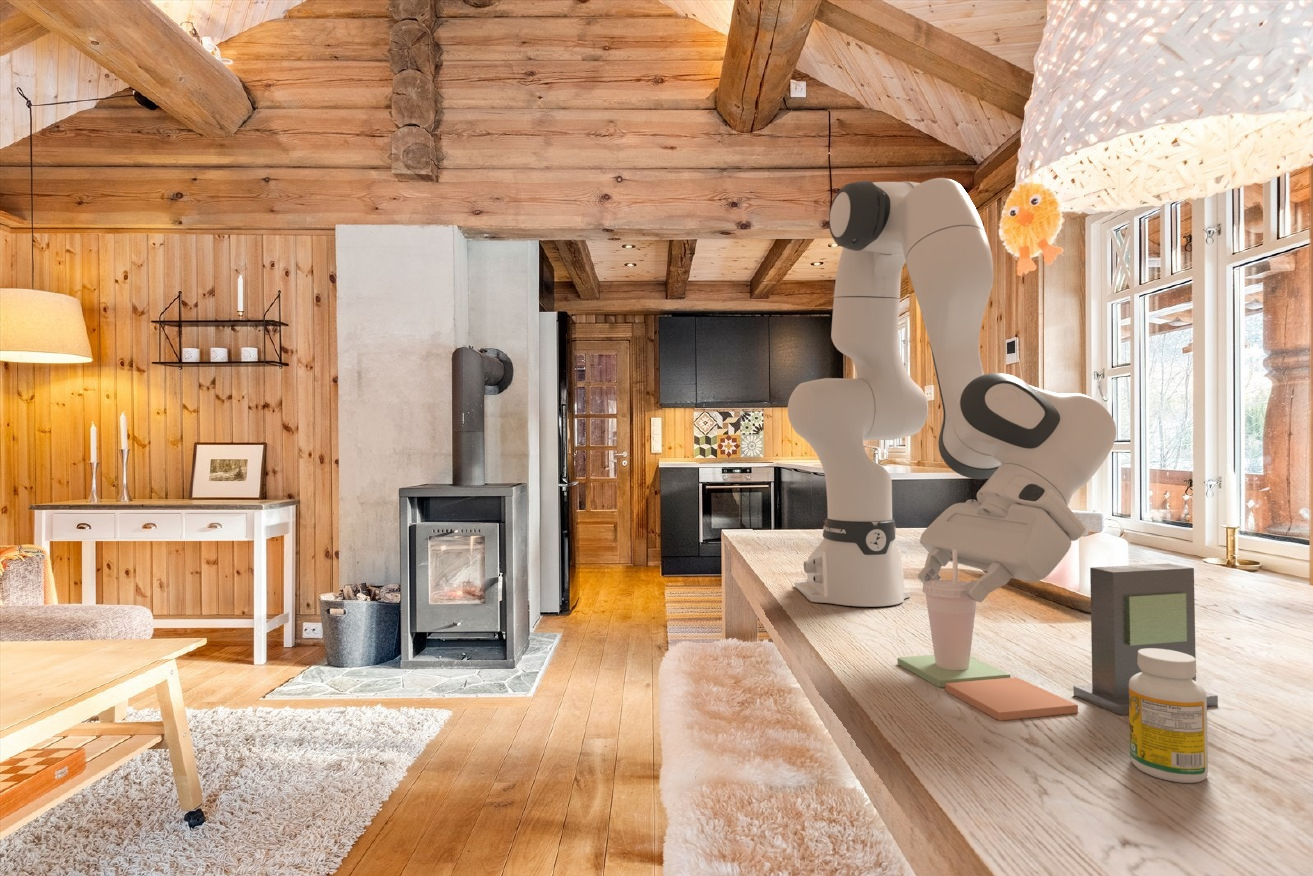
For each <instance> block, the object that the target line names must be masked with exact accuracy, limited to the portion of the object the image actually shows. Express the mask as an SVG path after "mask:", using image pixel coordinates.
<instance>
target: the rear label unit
mask: <svg viewBox="0 0 1313 876" xmlns="http://www.w3.org/2000/svg"><path fill="white" fill-rule="evenodd" d="M1089 568H1090V570H1089V574H1090V579H1089V580H1090V625H1091V627H1090V628H1091V629H1090V630H1091V631H1090V632H1091V635H1090V636H1091V637H1090V638H1091V678H1092V679H1091V681H1092V682H1091V683H1089V684H1080V685H1079V684H1077V685H1073V696H1075V697H1077V698H1079V699H1081V700H1084V701H1086V702H1088V703H1091V704H1093V705H1094V706H1098V707H1100V708H1102V709H1104V710H1107V711H1109V712H1111V713H1114V714H1116V715H1117V716H1124V715H1125V716H1127V715H1129V681H1130V679H1131V677H1132V676H1134V675H1135V674H1137V673H1140V672H1142V670H1141V669H1140V668H1139V666H1138V664H1137V657H1138V651H1139V650H1140V649H1146V648H1157V649H1166V650H1173V651H1178V652H1182V653H1185V654H1188V655H1191V656H1193V657H1194V658H1195V659H1196V654H1197V653H1196V619H1195V618H1196V613H1195V609H1196V608H1195V606H1196V605H1195V602H1196V601H1195V568H1194V567H1190V566H1185V565H1178V564H1173V563H1151V564H1138V565H1135V564H1133V565H1114V566H1112V565H1111V566H1096V567H1095V566H1093V567H1089ZM1196 660H1197V659H1196ZM1192 680H1194V681H1196V682H1197V673H1196V674H1195V677H1193V678H1192ZM1205 692H1206V695H1207V707H1214V706H1219V698H1218V696H1219V695H1217V694H1215V693H1211V692H1209V691H1206V690H1205Z"/></svg>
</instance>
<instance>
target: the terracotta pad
mask: <svg viewBox="0 0 1313 876" xmlns="http://www.w3.org/2000/svg"><path fill="white" fill-rule="evenodd" d="M944 688H945V689H944V690H945V692H947V693H950V694H951V695H952V696H954V697H957V698H958V699H960V700H962V701H963V702H965V703H967V704H969V705H971V706H972V707H974V708H975V709H978V710H980V711H982V712H983V713H985V714H986V715H988V716H990V717H992V718H994V719H997V720H998V721H1009V720H1010V721H1011V720H1021V719H1029V718H1040V717H1049V716H1059V715H1060V716H1061V715H1068V714H1069V715H1070V714H1071V715H1072V714H1078V713H1079V705H1078V704H1077V703H1074V702H1072V701H1070V700H1068V699H1066V698H1063V697H1061V696H1059V695H1057V694H1055V693H1052V692H1050V691H1048V690H1045V689H1044V688H1041V687H1039V686H1037V685H1035V684H1032V683H1031V682H1028V681H1025V680H1024V679H1021V678H1020V677H1015V676H1014V677H1013V676H1012V677H1010V678H1001V679H989V680H978V681H966V682H954V683H945V687H944Z"/></svg>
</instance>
